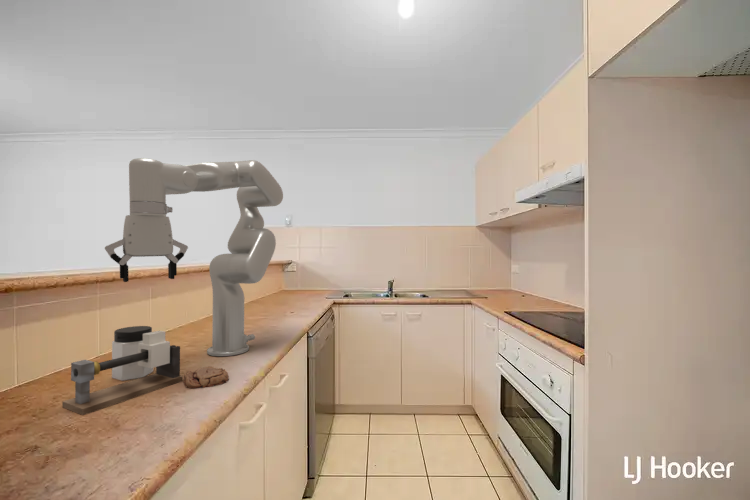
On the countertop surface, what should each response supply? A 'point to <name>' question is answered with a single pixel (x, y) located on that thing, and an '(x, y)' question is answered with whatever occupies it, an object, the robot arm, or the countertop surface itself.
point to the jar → (129, 352)
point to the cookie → (206, 377)
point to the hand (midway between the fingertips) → (149, 280)
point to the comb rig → (109, 396)
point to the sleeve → (154, 349)
